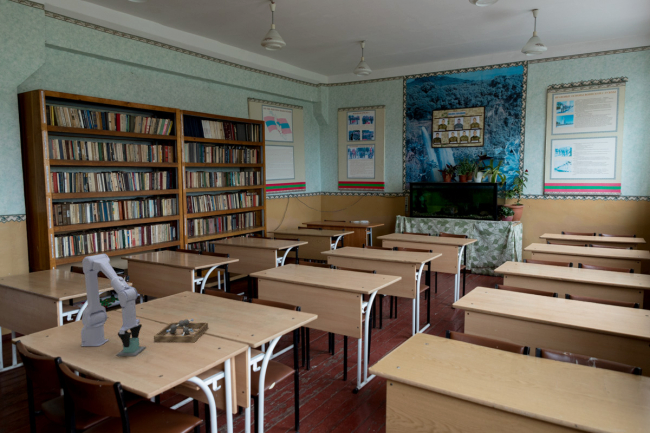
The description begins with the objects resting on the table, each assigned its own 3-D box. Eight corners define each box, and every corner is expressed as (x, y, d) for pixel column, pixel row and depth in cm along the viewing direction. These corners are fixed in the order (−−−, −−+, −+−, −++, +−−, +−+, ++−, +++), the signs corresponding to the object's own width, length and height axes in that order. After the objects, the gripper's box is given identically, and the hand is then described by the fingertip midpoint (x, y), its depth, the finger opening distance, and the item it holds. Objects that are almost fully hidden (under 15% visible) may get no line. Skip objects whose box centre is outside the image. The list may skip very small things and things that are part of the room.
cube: (123, 352, 197) (122, 341, 196) (129, 348, 202) (128, 337, 201) (134, 352, 197) (133, 341, 196) (139, 348, 202) (138, 337, 201)
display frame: (154, 342, 211) (153, 336, 211) (171, 327, 231) (171, 322, 230) (194, 342, 209) (193, 336, 209) (208, 328, 229) (208, 322, 229)
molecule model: (172, 348, 221) (174, 341, 213) (163, 333, 224) (164, 326, 215) (198, 332, 230) (201, 325, 222) (189, 318, 232) (191, 310, 224)
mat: (116, 355, 195) (116, 354, 195) (127, 348, 204) (127, 346, 204) (135, 356, 194) (135, 354, 194) (145, 348, 203) (145, 346, 203)
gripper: (129, 320, 190) (131, 350, 191) (145, 310, 205) (146, 337, 206) (113, 320, 191) (115, 350, 192) (130, 310, 205) (132, 337, 206)
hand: (130, 343), depth 199 cm, fingers open, 7 cm apart
